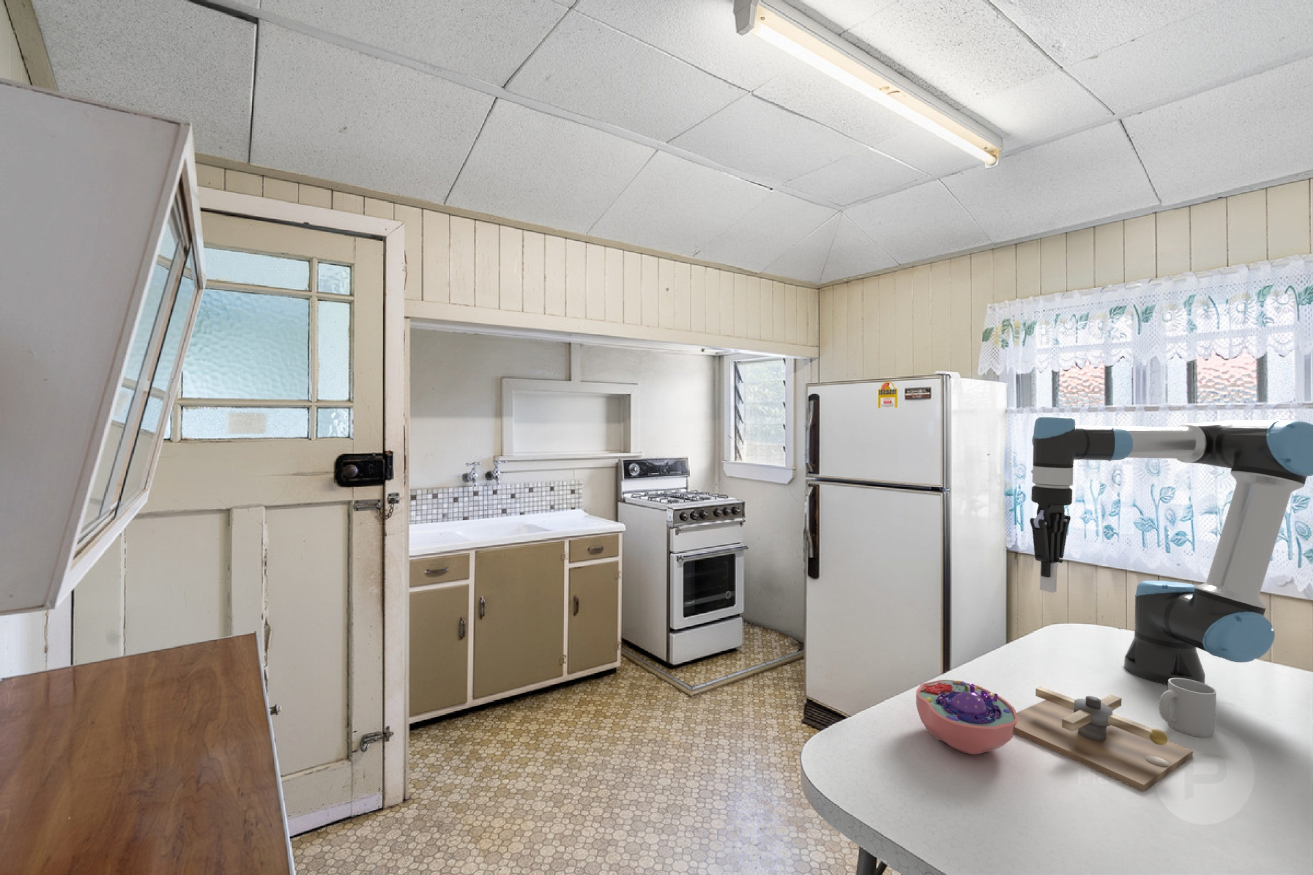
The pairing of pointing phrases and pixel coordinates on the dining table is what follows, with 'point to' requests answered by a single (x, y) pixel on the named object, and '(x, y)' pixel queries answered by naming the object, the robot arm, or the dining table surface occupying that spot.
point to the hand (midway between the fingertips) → (1047, 590)
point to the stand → (1101, 746)
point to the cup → (1189, 707)
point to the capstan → (1099, 714)
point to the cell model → (965, 715)
